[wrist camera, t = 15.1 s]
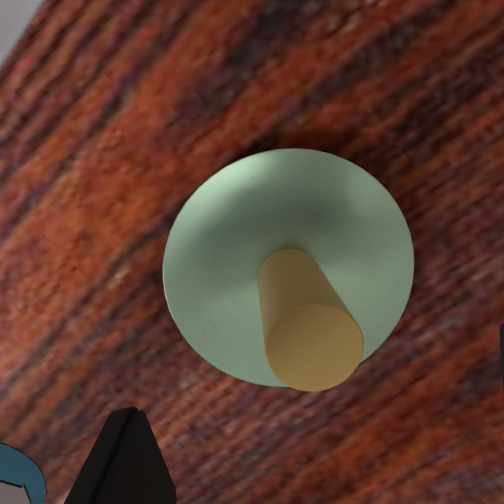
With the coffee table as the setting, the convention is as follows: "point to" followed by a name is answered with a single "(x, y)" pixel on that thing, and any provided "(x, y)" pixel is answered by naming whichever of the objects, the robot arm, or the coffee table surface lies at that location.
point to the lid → (288, 268)
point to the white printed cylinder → (20, 478)
